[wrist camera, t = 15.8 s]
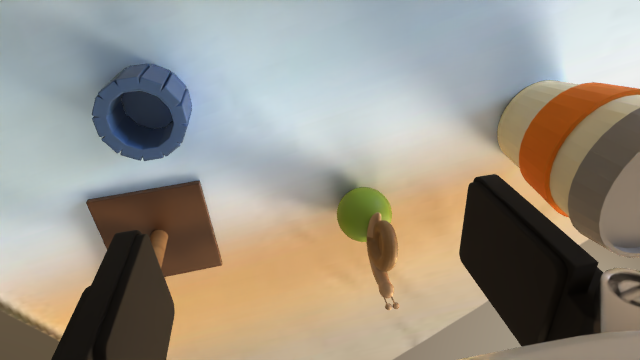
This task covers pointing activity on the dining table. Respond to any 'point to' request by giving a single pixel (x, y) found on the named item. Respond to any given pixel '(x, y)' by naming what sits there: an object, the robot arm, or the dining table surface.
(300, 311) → the dining table surface
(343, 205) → the snail figurine
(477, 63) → the dining table surface
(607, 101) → the reusable coffee cup
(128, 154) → the blue ring
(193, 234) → the dowel stand
